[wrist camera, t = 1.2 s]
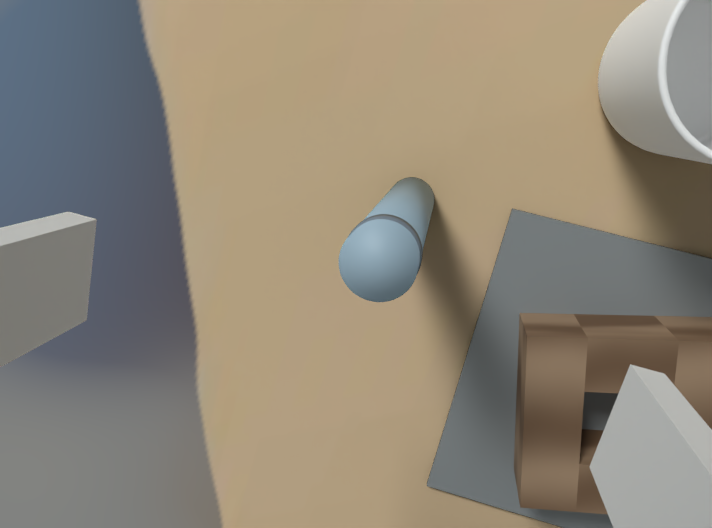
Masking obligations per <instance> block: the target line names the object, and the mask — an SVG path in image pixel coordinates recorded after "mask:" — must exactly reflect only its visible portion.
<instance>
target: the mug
mask: <svg viewBox="0 0 712 528" xmlns="http://www.w3.org/2000/svg"><path fill="white" fill-rule="evenodd" d="M598 92H599V98H600V102H601V106H602V108H603V111H604V113H605V116H606V117H607V119H608V121H609V122H610V124H611V125H612V126H613V128H614V129H615V130H616V131H617V132H618V133H619V134H620V135H621V136H622V137H623V138H624V139H625V140H627V141H628V142H630V143H631V144H633V145H635V146H637V147H639V148H641V149H643V150H646V151H649V152H652V153H656V154H660V155H665V156H671V157H676V158H682V159H687V160H692V161H698V162H703V163H708V164H712V0H647V1H645V2H644V3H642V4H641V5H639V6H638V7H637V8H636V9H635V10H634V11H633V12H631V13H630V14H629V15H628V16H627V17H626V18H625V19H624V20H623V22H622V23H621V24H620V25H619V26H618V28H617V29H616V30H615V32H614V33H613V35H612V37H611V38H610V40H609V42H608V44H607V46H606V48H605V51H604V53H603V56H602V59H601V63H600V67H599V74H598Z"/></svg>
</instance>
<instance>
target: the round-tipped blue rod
mask: <svg viewBox="0 0 712 528" xmlns="http://www.w3.org/2000/svg"><path fill="white" fill-rule="evenodd" d="M433 206H434V194H433V191H432V189H431V187H430V186H429V185H428V184H427V183H426V182H425V181H423V180H421V179H419V178H415V177H409V178H404V179H402V180H400V181H399V182H397V183H396V184H395V185H394V186H393V187H392V189H391V190H390V191H389V192H388V193H387V194H386V195H385V196H384V198H383V199H382V200H381V201H380V202H379V203H378V204H377V205H376V207H375V208H374V209H373V210H372V211H371V212H370V213H369V214H368V216H367V217H366V218H365V219H364V220H363V221H361V222H360V223H359V224H358V225H357V226H356V227H355V228H354V229H353V230H352V232H351V233H350V234H349V236H348V238H347V239H346V241H345V242H344V244H343V246H342V248H341V251H340V255H339V269H340V273H341V276H342V279H343V280H344V282H345V284H346V285H347V287H348V288H349V289H350V290H351V291H352V292H353V293H355V294H356V295H358V296H359V297H361V298H363V299H366V300H369V301H373V302H386V301H391V300H394V299H396V298H398V297H400V296H401V295H403V294H404V293H405V292H407V290H408V289H409V288H410V287H411V286H412V284H413V282H414V280H415V278H416V275H417V273H418V271H419V268H420V265H421V261H422V253H423V247H424V243H425V239H426V235H427V231H428V226H429V222H430V218H431V214H432V210H433Z"/></svg>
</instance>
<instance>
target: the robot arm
mask: <svg viewBox="0 0 712 528" xmlns="http://www.w3.org/2000/svg"><path fill="white" fill-rule="evenodd" d="M95 230H96V219H94V218H90V217H86V216H82V215H79V214H75V213H71V212H65V213H61V214H57V215H53V216H48V217H44V218H40V219H36V220H31V221H27V222H23V223H19V224H15V225H10V226H6V227H2V228H0V367H2V366H3V365H5V364H7V363H9V362H11V361H13V360H14V359H16V358H18V357H20V356H22V355H24V354H25V353H27V352H29V351H31V350H33V349H35V348H36V347H38V346H40V345H42V344H44V343H45V342H47V341H49V340H51V339H53V338H55V337H56V336H58V335H60V334H62V333H64V332H66V331H68V330H69V329H71V328H73V327H75V326H77V325H79V324H80V323H82V322H84V321H86V319H87V309H88V300H89V290H90V279H91V270H92V260H93V250H94V240H95ZM589 467H590V470H591V472H592V475H593V477H594V480H595V483H596V485H597V488H598V490H599V493H600V495H601V498H602V500H603V503H604V505H605V508H606V510H607V513H608V516H609V518H610V521H611V523H612V526H613V528H712V430H711V428H710V427H709V426H708V425H707V424H706V422H705V421H704V420H703V419H702V418H701V417H700V415H699V414H698V413H697V412H696V411H695V409H694V408H693V407H692V406H691V405H690V403H689V402H688V401H687V400H686V399H685V397H684V396H683V395H682V394H681V393H680V391H679V390H678V389H677V388H676V387H675V385H674V384H673V383H672V382H671V381H670V379H669V378H668V377H667V376H666V375H665V374H664V373H660V372H657V371H653V370H649V369H646V368H642V367H638V366H635V365H631V364H630V366H629V369H628V371H627V374H626V376H625V379H624V381H623V384H622V386H621V389H620V391H619V394H618V396H617V399H616V401H615V404H614V406H613V409H612V411H611V414H610V416H609V419H608V421H607V424H606V426H605V429H604V431H603V434H602V436H601V439H600V441H599V444H598V446H597V449H596V451H595V454H594V456H593V459H592V461H591V464H590V466H589Z"/></svg>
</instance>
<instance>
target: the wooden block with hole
mask: <svg viewBox="0 0 712 528" xmlns="http://www.w3.org/2000/svg"><path fill="white" fill-rule="evenodd" d="M630 364H631V365H635V366H638V367H642V368H646V369H649V370H653V371H657V372H660V373H664V374H665V375H666V376H667V377H668V378H669V379H670V381H671V382H672V383H673V384H674V385H675V387H676V388H677V389H678V390H679V391H680V393H681V394H682V395H683V396H684V397H685V399H686V400H687V401H688V402H689V403H690V405H691V406H692V407H693V408H694V409H695V411H696V412H697V413H698V414H699V415H700V417H701V418H702V419H703V420H704V421H705V422H706V424H707V425H708V426H709V427H710V428H711V430H712V317H690V316H643V315H595V314H548V313H519V340H518V366H517V393H516V420H515V447H514V473H515V479H516V485H517V491H518V497H519V503H520V508H531V509H544V510H557V511H570V512H583V513H596V514H608V513H607V510H606V508H605V505H604V503H603V500H602V498H601V495H600V493H599V490H598V488H597V485H596V483H595V480H594V477H593V475H592V472H591V470H590V467H589V466H590V464H591V461H592V459H593V456H594V454H595V451H596V449H597V446H598V444H599V441H600V439H601V436H602V434H603V431H604V430H589V429H582V418H583V404H584V392H599V393H619V391H620V389H621V386H622V384H623V381H624V379H625V376H626V374H627V371H628V369H629V366H630Z"/></svg>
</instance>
